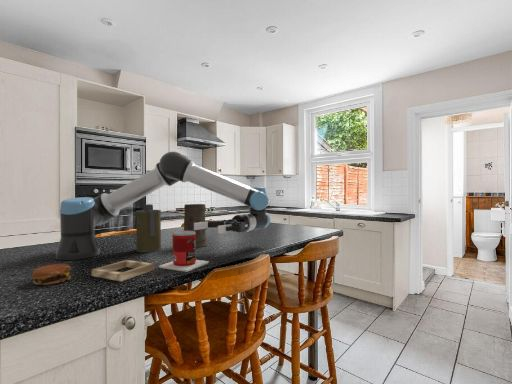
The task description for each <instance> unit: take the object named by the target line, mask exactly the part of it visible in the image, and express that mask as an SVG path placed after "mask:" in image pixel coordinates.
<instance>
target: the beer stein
mask: <svg viewBox="0 0 512 384" xmlns="http://www.w3.org/2000/svg"><path fill="white" fill-rule="evenodd" d="M206 209H207V207H206V204H205V203H194V204H193V203H192V204H191V203H190V204H187V203H186V204H184V208H183V210H184V216H183V217H184V218H183V231H195V233H196V249H197V248H203V247H206V246H207V245H208V241H207V239H208V238H207V233H206V231H207V230H206V229H199V230H194V223H199V222H204V221H206Z"/></svg>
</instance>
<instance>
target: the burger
mask: <svg viewBox="0 0 512 384" xmlns="http://www.w3.org/2000/svg"><path fill="white" fill-rule="evenodd" d="M71 270H72V267H71V266H70V265H68V264H64V263H63V264H61V263H57V264H48V265H44V266H41V267H37V268H35V269H34V270H33V271H32V273H31V278H32V279H33V280H32V284H33V285H36V286H51V285H55V284H59V283H64V282H66V281H70V280H71V279H72V276H71V274H70V271H71Z"/></svg>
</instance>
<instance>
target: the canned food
mask: <svg viewBox="0 0 512 384" xmlns="http://www.w3.org/2000/svg"><path fill="white" fill-rule="evenodd" d="M196 260H197V248H196V233H195V231H184V230H177V231H173V232H172V261H173V263H174V265H176V266H189V265H193V264H195V262H196Z"/></svg>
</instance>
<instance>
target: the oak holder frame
mask: <svg viewBox="0 0 512 384" xmlns="http://www.w3.org/2000/svg"><path fill="white" fill-rule="evenodd" d="M124 268H128V269H129V268H131V269H129V270H126V271H122V272H121V271H119V270H121V269H124ZM152 271H155V263H151V262H146V261H137V260H130V259H129V260H128V259H125V260H122V261H118V262H114V263H110V264H107V265H102V266H100V267H96V268H91V277H96V278H101V279H106V280H112V281H115V282H123V281H127V280H130V279H132V278H135V277H137V276H140V275H143V274H147V273H149V272H152Z"/></svg>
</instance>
